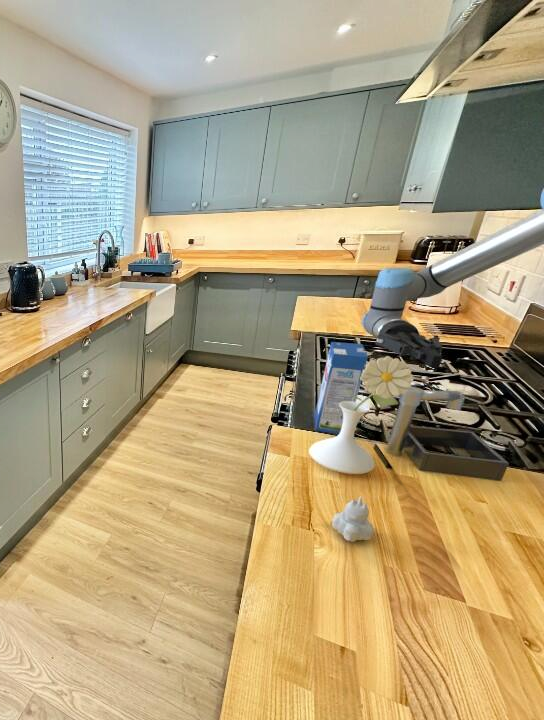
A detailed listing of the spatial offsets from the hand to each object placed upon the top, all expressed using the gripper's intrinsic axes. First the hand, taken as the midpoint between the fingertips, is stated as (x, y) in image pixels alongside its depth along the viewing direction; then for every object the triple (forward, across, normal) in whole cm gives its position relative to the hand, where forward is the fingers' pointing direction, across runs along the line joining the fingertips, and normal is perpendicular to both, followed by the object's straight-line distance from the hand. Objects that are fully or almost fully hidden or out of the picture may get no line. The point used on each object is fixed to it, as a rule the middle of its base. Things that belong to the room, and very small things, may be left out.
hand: (436, 361), depth 92 cm
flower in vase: (+20, +18, -18) cm, 32 cm away
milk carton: (0, +17, -18) cm, 25 cm away
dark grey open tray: (+14, 0, -18) cm, 23 cm away
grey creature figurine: (+43, +23, -18) cm, 52 cm away
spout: (+14, +5, -5) cm, 15 cm away
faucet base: (+14, +9, -18) cm, 24 cm away
